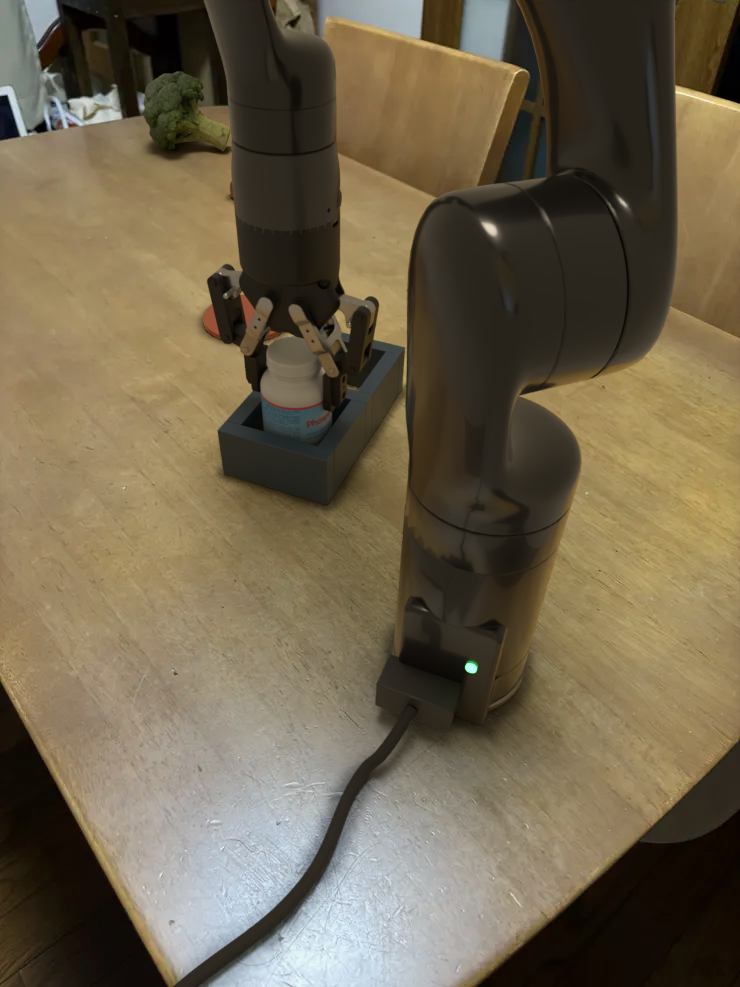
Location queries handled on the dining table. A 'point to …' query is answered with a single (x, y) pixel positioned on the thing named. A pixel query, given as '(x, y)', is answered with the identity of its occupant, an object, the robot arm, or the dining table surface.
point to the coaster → (211, 322)
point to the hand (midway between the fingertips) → (296, 396)
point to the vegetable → (180, 112)
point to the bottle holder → (330, 462)
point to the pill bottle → (294, 392)
